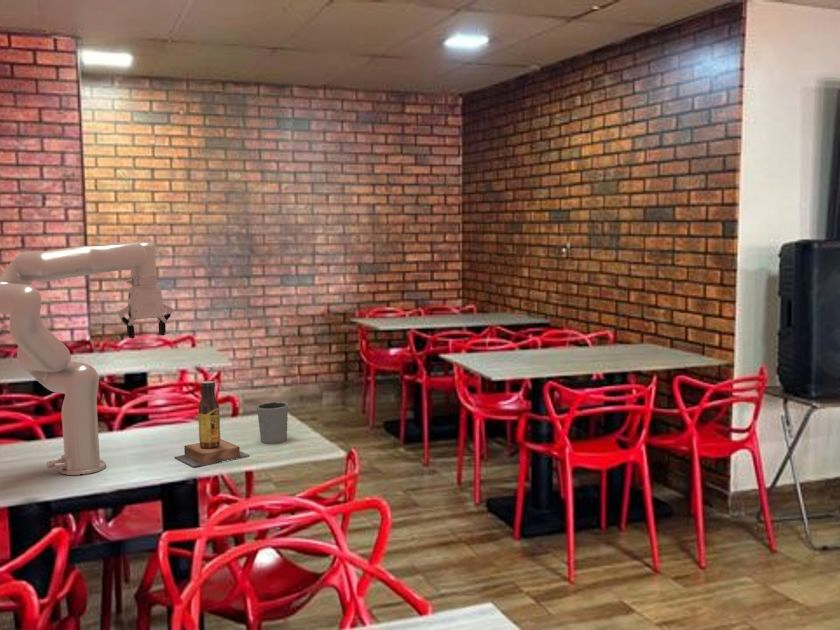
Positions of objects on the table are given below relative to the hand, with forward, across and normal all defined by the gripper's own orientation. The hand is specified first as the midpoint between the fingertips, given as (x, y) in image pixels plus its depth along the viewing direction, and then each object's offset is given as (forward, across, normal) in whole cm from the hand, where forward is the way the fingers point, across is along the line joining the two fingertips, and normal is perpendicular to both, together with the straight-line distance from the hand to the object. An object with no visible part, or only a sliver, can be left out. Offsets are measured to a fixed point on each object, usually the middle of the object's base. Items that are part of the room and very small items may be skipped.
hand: (146, 336), depth 258 cm
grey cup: (+36, +34, -17) cm, 53 cm away
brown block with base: (+36, +10, -22) cm, 44 cm away
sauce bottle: (+33, +10, -22) cm, 41 cm away
